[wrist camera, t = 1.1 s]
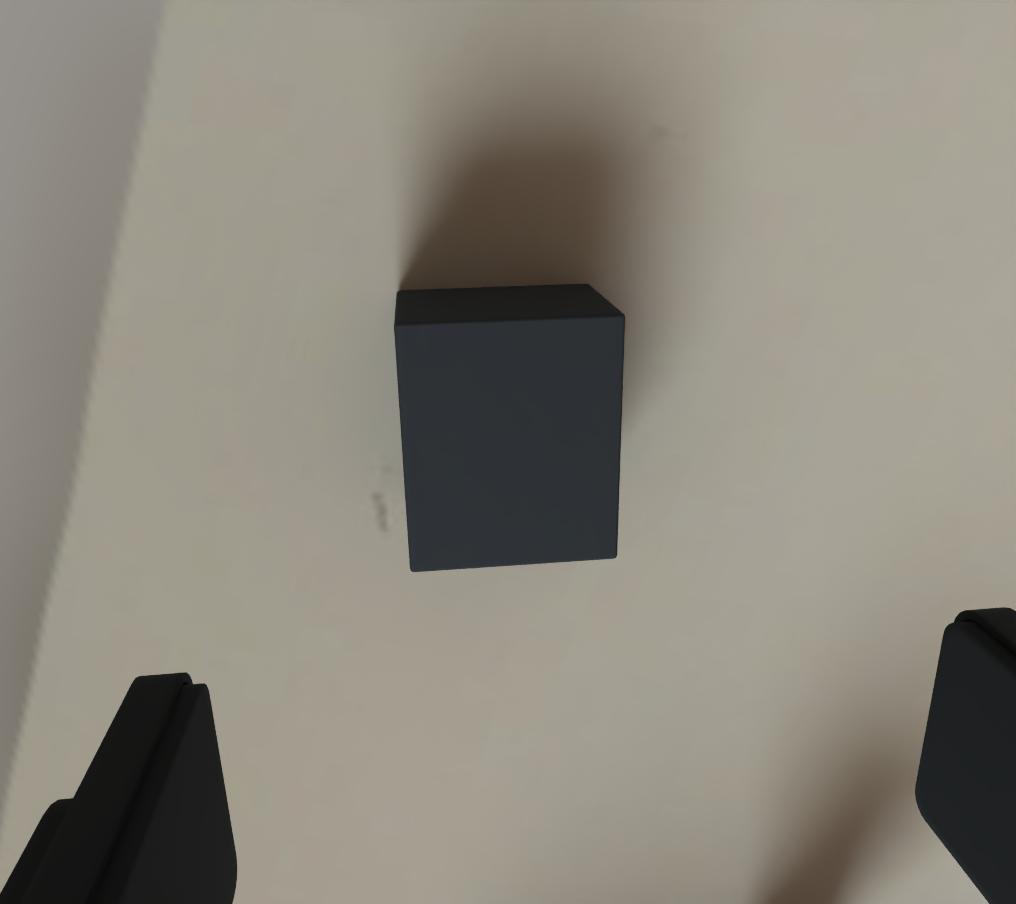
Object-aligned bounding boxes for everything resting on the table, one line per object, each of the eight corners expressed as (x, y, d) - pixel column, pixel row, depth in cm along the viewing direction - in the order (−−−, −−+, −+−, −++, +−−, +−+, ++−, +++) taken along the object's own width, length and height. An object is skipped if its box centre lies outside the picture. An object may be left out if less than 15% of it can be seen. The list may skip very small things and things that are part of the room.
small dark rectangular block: (396, 289, 21) (393, 323, 18) (589, 282, 22) (626, 314, 18) (410, 504, 24) (410, 573, 20) (585, 493, 24) (617, 559, 20)
